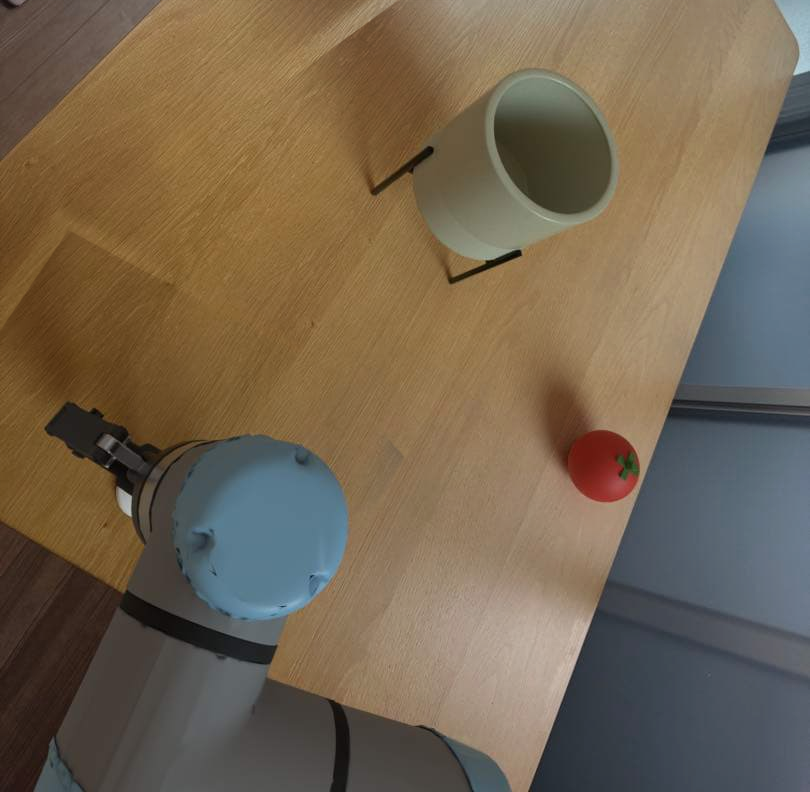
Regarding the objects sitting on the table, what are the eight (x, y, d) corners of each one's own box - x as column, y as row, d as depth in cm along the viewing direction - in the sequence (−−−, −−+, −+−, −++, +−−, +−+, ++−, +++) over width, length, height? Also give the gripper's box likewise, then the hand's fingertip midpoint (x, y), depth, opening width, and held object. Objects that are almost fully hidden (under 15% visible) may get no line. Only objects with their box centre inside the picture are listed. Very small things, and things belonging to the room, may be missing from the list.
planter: (512, 222, 91) (647, 156, 71) (437, 306, 83) (566, 257, 64) (433, 129, 89) (549, 35, 70) (349, 205, 81) (454, 123, 62)
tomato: (590, 514, 86) (647, 519, 78) (543, 475, 84) (596, 477, 76) (615, 455, 90) (671, 455, 82) (570, 417, 88) (623, 413, 80)
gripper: (388, 558, 49) (289, 529, 67) (75, 328, 43) (61, 364, 62) (326, 671, 45) (240, 607, 63) (-23, 435, 40) (-6, 440, 58)
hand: (152, 487), depth 63 cm, fingers open, 13 cm apart
